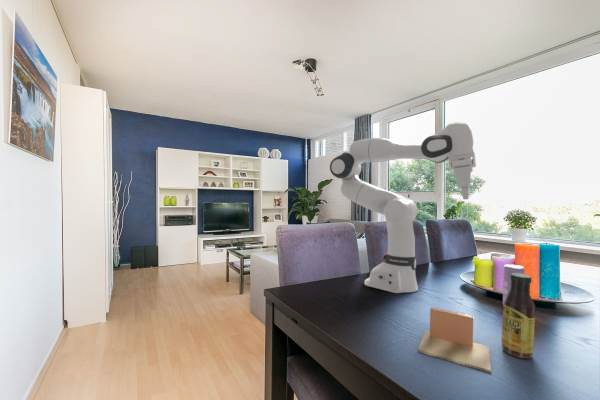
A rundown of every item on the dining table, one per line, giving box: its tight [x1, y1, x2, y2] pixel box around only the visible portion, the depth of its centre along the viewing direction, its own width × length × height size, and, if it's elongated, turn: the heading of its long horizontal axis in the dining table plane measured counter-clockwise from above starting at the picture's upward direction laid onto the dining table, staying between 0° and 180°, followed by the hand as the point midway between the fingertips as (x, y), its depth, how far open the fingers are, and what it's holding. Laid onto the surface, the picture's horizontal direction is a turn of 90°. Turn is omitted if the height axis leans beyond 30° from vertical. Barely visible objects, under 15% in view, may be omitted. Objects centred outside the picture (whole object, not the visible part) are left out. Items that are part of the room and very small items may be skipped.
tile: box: [429, 306, 474, 347], centre depth 73 cm, size 10×2×8 cm, turn 57°
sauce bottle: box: [501, 273, 536, 360], centre depth 68 cm, size 6×6×20 cm
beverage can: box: [502, 263, 526, 306], centre depth 98 cm, size 6×6×15 cm
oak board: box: [417, 330, 492, 374], centre depth 69 cm, size 15×12×1 cm
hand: (466, 199), depth 105 cm, fingers open, 8 cm apart
